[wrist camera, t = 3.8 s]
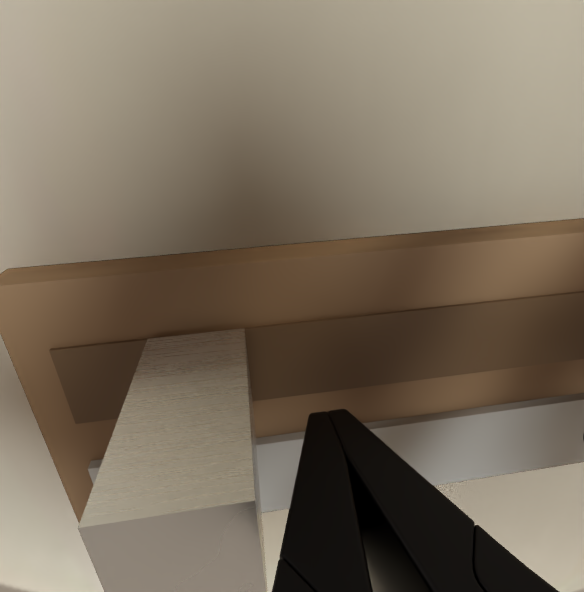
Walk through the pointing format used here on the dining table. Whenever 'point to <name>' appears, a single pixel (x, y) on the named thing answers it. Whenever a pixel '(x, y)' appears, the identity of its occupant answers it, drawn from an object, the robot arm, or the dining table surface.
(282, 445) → the board
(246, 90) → the dining table surface
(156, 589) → the block
